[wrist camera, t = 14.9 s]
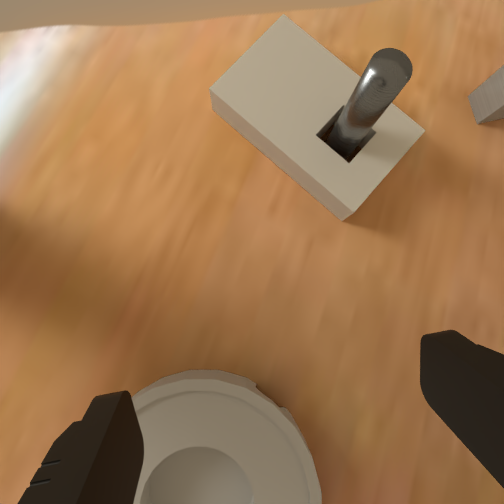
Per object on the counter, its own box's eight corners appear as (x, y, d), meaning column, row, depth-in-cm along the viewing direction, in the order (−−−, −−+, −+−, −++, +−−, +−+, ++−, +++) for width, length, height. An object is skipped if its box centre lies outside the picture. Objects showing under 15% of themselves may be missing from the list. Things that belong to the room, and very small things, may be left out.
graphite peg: (316, 152, 37) (360, 69, 23) (334, 133, 37) (387, 39, 23) (337, 170, 37) (394, 96, 23) (354, 150, 37) (421, 66, 23)
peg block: (212, 110, 37) (209, 88, 33) (279, 42, 38) (283, 13, 34) (341, 221, 36) (353, 212, 32) (406, 147, 37) (425, 130, 33)
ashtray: (82, 383, 33) (60, 396, 30) (296, 354, 34) (303, 363, 30) (96, 627, 31) (75, 677, 27) (328, 589, 32) (341, 632, 28)
